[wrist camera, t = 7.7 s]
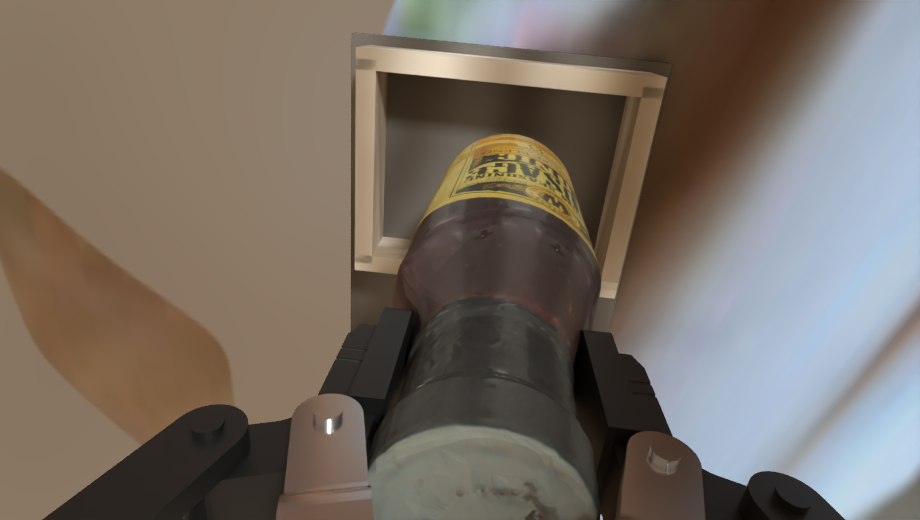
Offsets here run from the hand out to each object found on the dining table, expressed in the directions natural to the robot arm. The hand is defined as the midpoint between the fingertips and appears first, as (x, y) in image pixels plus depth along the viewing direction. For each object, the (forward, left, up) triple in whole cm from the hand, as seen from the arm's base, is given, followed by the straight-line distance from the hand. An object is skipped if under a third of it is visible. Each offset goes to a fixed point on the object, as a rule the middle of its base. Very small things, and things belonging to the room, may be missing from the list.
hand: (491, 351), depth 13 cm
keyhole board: (0, +6, -20) cm, 21 cm away
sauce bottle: (0, 0, -15) cm, 15 cm away
